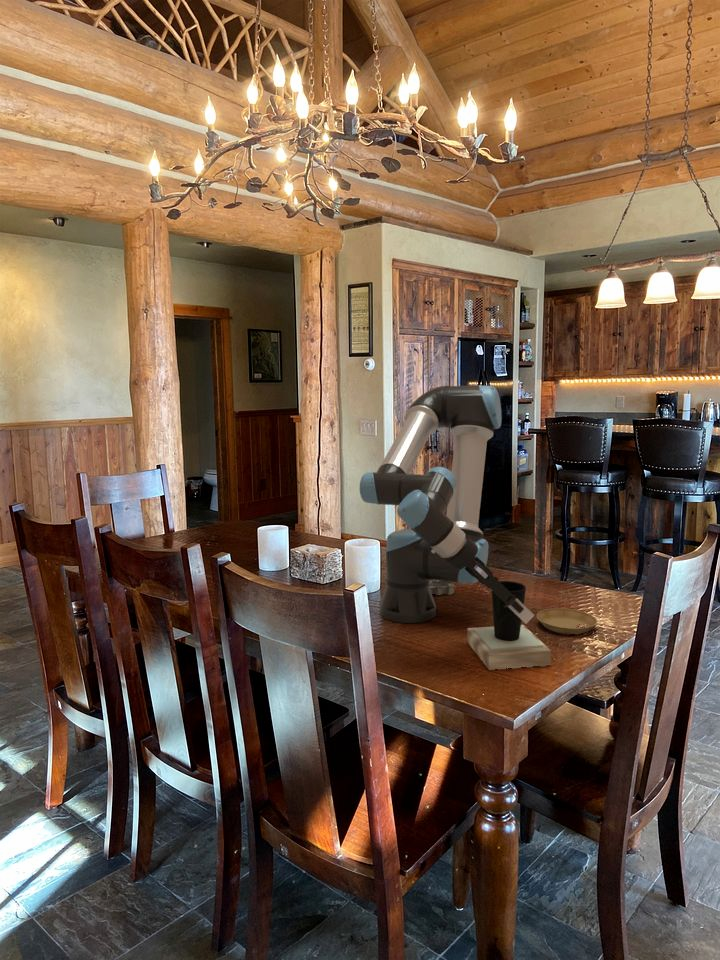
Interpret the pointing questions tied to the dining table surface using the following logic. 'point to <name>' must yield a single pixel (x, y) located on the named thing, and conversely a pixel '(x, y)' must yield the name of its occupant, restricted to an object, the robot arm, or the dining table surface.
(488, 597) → the dining table surface
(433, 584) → the egg carton
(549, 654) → the stand
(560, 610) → the plant saucer
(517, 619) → the cup
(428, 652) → the dining table surface
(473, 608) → the dining table surface
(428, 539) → the robot arm
